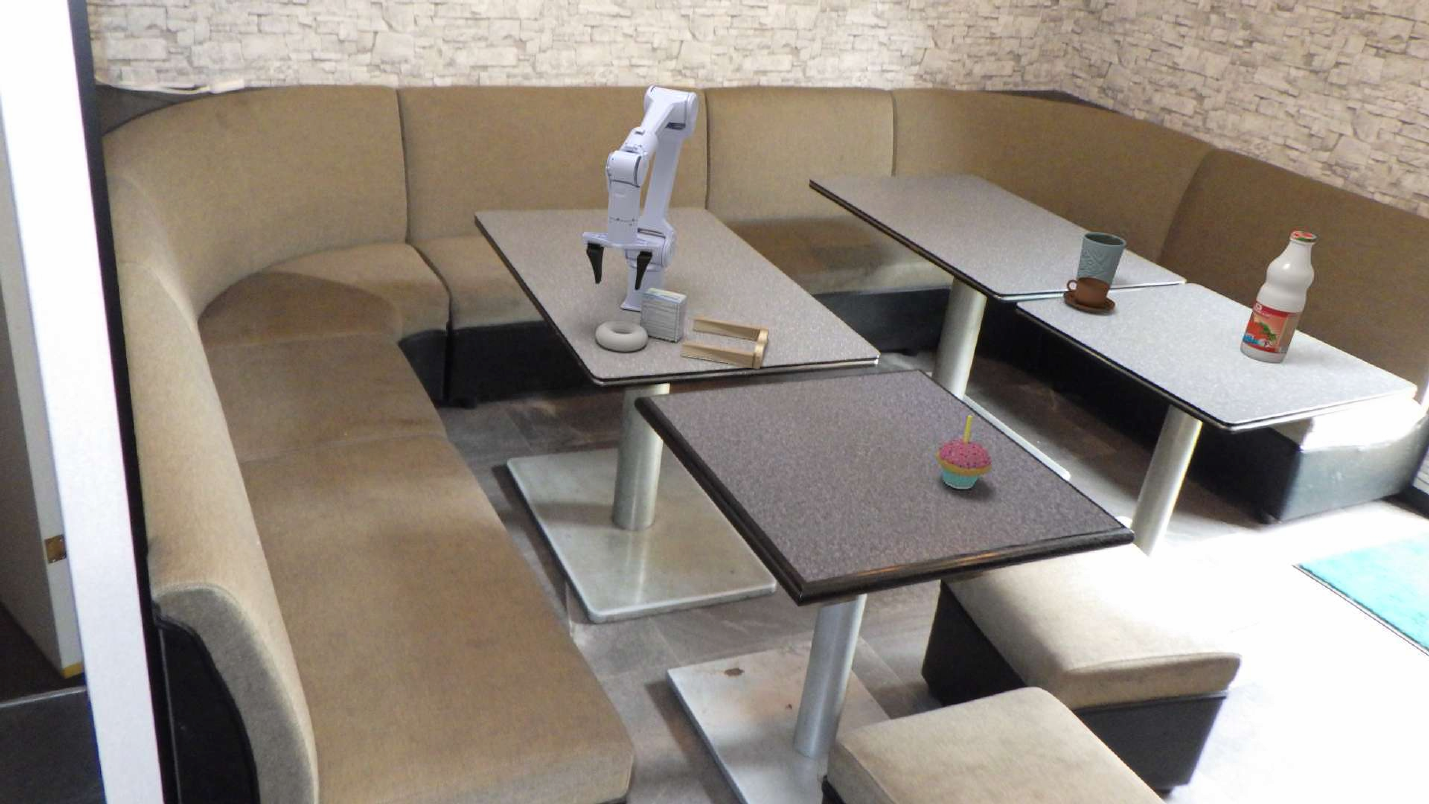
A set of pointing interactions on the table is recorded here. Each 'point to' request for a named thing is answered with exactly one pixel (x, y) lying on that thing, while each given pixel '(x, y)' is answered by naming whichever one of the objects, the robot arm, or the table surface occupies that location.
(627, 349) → the donut
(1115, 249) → the grey green embossed tumbler
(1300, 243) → the fruit juice
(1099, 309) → the cup and saucer
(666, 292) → the medicine box
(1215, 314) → the table surface
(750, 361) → the wooden u-shaped block
